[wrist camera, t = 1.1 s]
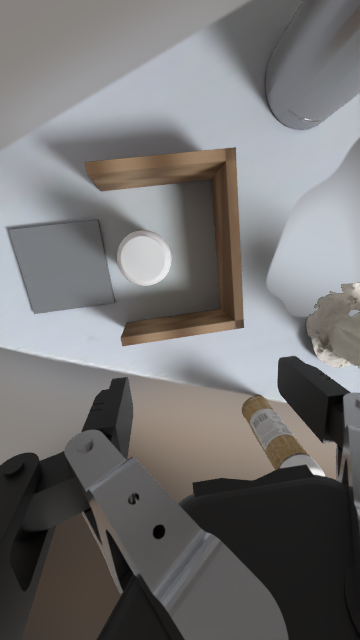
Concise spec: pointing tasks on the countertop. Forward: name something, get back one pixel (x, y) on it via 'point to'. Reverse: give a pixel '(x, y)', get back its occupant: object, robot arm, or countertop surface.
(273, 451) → the sprinkles bottle
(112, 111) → the countertop surface
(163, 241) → the supplement bottle
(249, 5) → the countertop surface
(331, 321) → the yellow capped ghost figurine
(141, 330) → the open box
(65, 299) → the grey mat
